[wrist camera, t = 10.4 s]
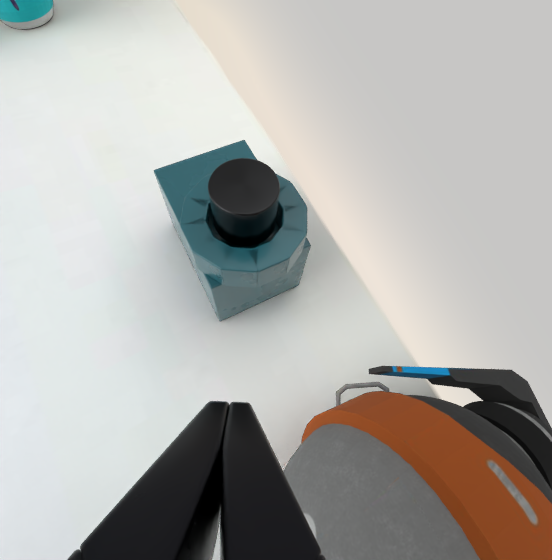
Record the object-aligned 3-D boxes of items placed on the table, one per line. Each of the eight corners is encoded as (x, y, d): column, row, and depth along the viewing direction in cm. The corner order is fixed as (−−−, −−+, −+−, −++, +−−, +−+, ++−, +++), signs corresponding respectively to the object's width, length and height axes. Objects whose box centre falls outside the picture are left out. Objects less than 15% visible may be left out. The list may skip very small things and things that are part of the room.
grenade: (273, 710, 14) (485, 514, 21) (550, 1180, 5) (747, 574, 13) (194, 430, 16) (409, 340, 24) (295, 436, 8) (586, 291, 15)
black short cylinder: (287, 232, 17) (292, 199, 15) (229, 256, 16) (225, 225, 14) (259, 186, 18) (260, 148, 16) (203, 207, 17) (196, 170, 15)
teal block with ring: (308, 296, 23) (330, 240, 16) (223, 336, 21) (212, 292, 15) (247, 193, 26) (246, 112, 19) (170, 223, 24) (141, 146, 18)
